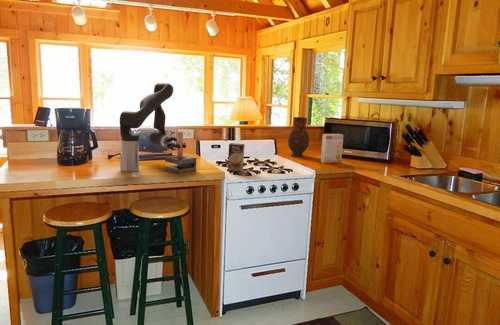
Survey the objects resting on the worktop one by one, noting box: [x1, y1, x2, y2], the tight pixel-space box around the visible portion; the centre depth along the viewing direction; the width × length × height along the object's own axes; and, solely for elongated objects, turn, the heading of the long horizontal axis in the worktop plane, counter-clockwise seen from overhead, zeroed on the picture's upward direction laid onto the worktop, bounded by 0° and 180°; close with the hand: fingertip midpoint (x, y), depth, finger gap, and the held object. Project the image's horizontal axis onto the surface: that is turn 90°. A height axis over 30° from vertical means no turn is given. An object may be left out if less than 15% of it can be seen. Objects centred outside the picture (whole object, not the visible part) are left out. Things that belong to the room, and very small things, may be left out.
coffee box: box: [227, 142, 245, 172], centre depth 228 cm, size 9×6×16 cm
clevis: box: [164, 154, 197, 175], centre depth 218 cm, size 14×12×8 cm
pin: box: [176, 131, 184, 167], centre depth 216 cm, size 3×3×20 cm
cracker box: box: [320, 133, 344, 164], centre depth 269 cm, size 14×6×21 cm, turn 108°
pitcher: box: [287, 116, 310, 158], centre depth 291 cm, size 17×21×30 cm
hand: (182, 146), depth 213 cm, fingers closed on pin, 3 cm apart
